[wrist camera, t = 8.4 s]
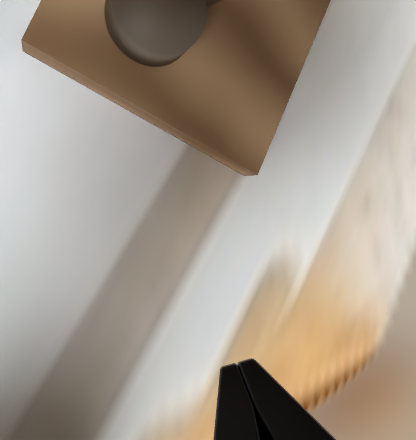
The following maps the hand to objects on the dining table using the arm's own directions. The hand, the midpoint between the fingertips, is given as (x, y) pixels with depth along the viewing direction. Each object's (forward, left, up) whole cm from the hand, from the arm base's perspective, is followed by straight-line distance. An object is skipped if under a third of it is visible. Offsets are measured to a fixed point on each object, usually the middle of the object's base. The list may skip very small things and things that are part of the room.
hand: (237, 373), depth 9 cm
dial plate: (+13, -6, -13) cm, 20 cm away
